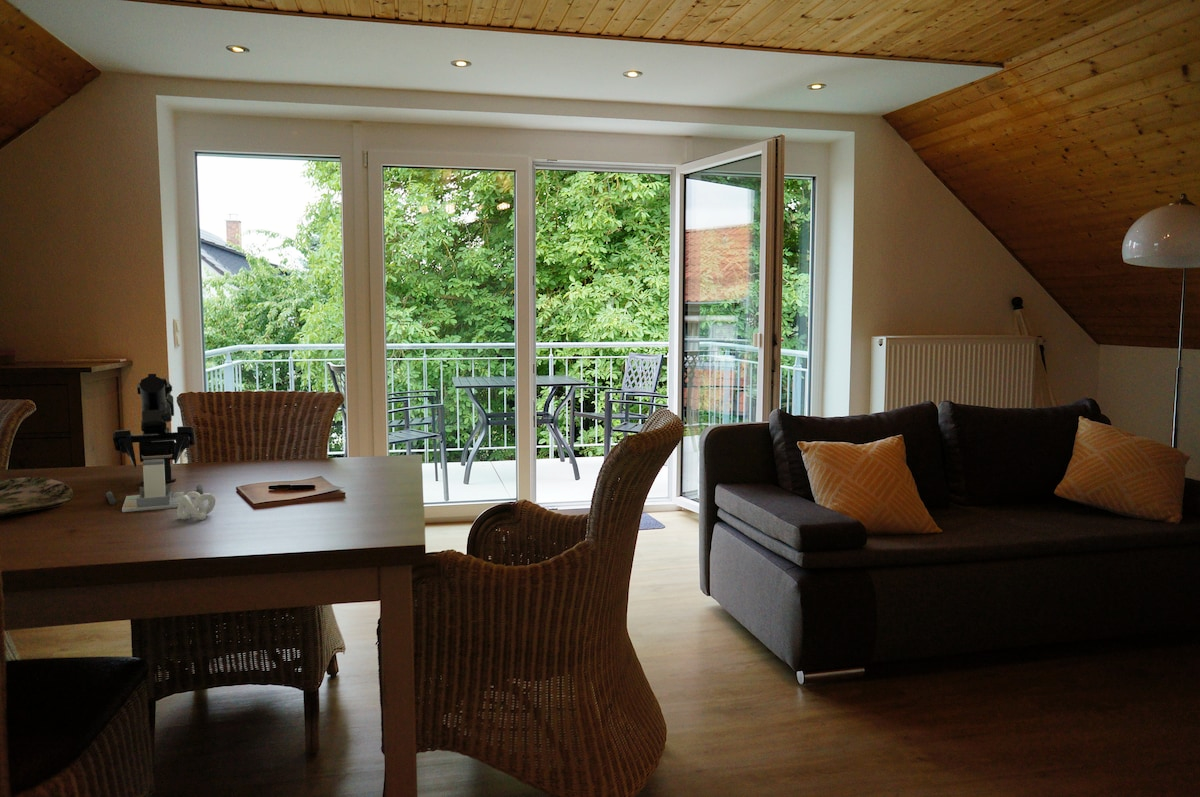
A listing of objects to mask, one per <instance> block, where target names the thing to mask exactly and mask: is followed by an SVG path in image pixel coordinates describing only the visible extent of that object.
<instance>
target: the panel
mask: <svg viewBox="0 0 1200 797" xmlns="http://www.w3.org/2000/svg"><path fill="white" fill-rule="evenodd" d="M171 486H172V485H171V484H165V491H166V495H165V496H164V497H151V498H145V496H144V486H139V494H134V495H126V497H125V500H124V501H123V505H122V508H121V512H122V513H127V512H128V513H129V512H140V511H153V510H163V509H164V510H165V509H174V508H177V509H178V505H179V503H180V501H181V499H182V496H184V495H185V491H173V492H172V488H171Z"/></svg>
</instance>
